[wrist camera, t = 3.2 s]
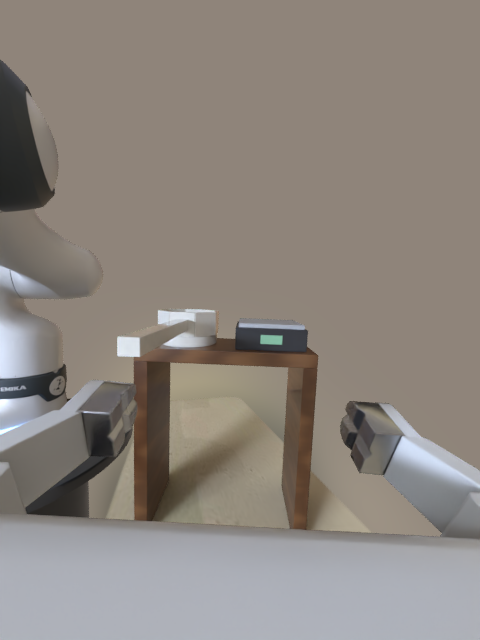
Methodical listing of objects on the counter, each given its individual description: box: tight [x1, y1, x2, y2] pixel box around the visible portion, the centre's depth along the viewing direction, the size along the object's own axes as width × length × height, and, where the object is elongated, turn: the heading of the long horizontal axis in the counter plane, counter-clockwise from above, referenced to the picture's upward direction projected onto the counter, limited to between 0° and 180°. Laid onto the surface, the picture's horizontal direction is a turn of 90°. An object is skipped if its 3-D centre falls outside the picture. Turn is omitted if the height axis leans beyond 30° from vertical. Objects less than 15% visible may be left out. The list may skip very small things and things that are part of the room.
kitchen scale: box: [235, 318, 308, 352], centre depth 29 cm, size 8×7×3 cm
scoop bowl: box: [117, 309, 219, 357], centre depth 23 cm, size 7×19×4 cm, turn 179°
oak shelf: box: [134, 338, 318, 530], centre depth 30 cm, size 20×8×22 cm, turn 89°
